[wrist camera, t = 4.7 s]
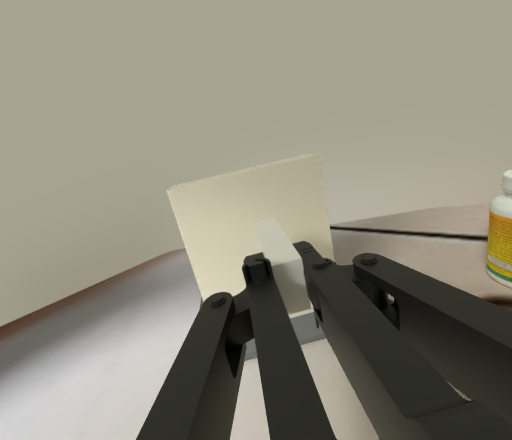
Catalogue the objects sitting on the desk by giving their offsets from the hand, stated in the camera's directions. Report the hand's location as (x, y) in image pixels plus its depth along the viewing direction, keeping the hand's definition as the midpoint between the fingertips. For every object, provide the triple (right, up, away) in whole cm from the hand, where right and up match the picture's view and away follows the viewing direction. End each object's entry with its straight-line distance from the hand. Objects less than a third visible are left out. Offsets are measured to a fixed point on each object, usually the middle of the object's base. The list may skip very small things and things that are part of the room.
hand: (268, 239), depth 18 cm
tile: (+1, -8, +7) cm, 10 cm away
